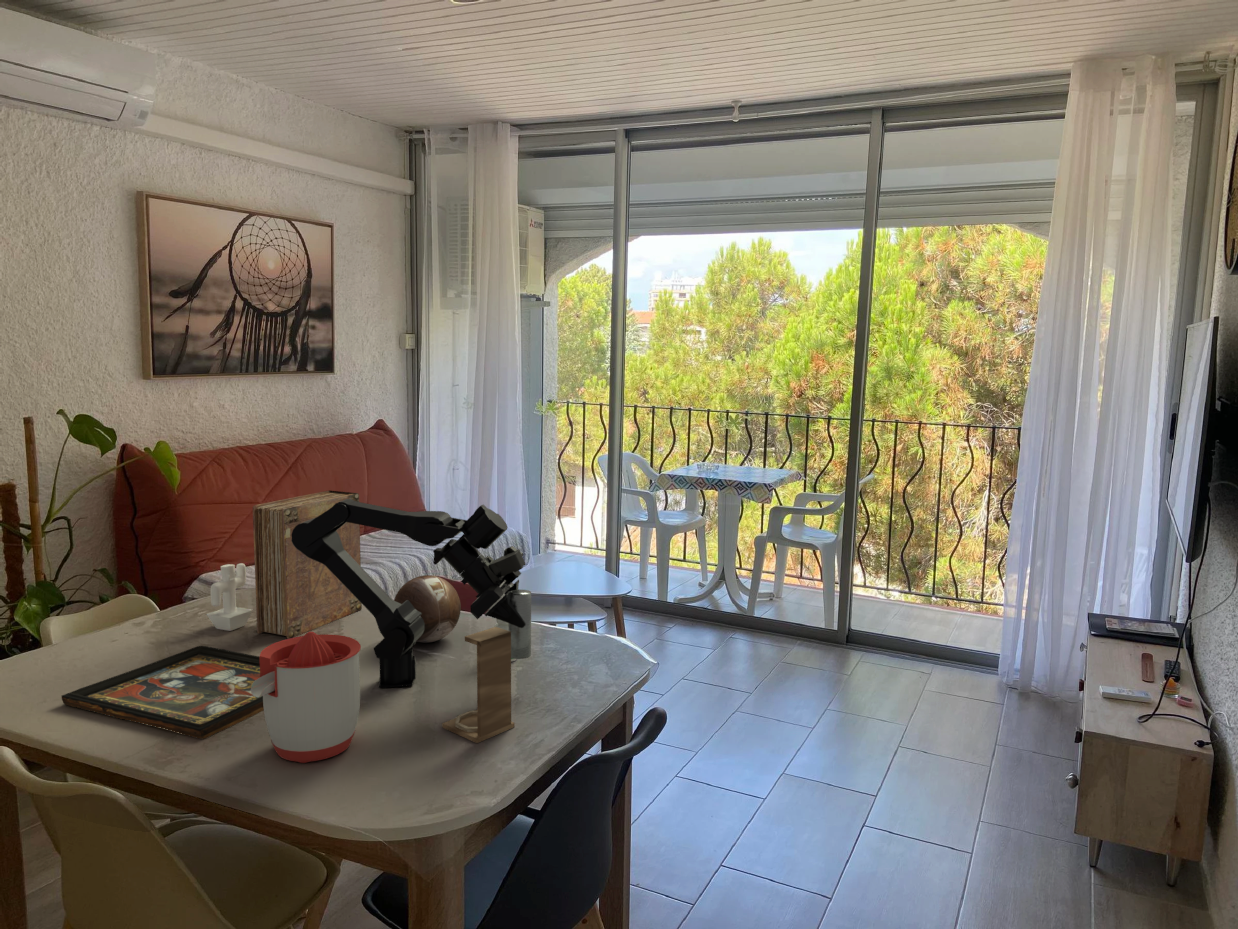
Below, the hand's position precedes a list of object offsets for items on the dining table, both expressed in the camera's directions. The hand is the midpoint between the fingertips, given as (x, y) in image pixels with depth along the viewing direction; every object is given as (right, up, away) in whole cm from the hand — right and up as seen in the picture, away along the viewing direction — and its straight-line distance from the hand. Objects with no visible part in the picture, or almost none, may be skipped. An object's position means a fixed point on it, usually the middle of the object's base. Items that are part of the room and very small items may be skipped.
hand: (526, 622), depth 169 cm
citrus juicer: (-33, -17, -25) cm, 45 cm away
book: (-56, -7, +42) cm, 70 cm away
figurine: (-74, -8, +37) cm, 83 cm away
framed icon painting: (-62, -14, -1) cm, 64 cm away
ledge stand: (-7, -16, -15) cm, 23 cm away
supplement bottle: (-6, -11, +18) cm, 23 cm away
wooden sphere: (-26, -10, +29) cm, 40 cm away
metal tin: (-1, -6, +1) cm, 7 cm away
